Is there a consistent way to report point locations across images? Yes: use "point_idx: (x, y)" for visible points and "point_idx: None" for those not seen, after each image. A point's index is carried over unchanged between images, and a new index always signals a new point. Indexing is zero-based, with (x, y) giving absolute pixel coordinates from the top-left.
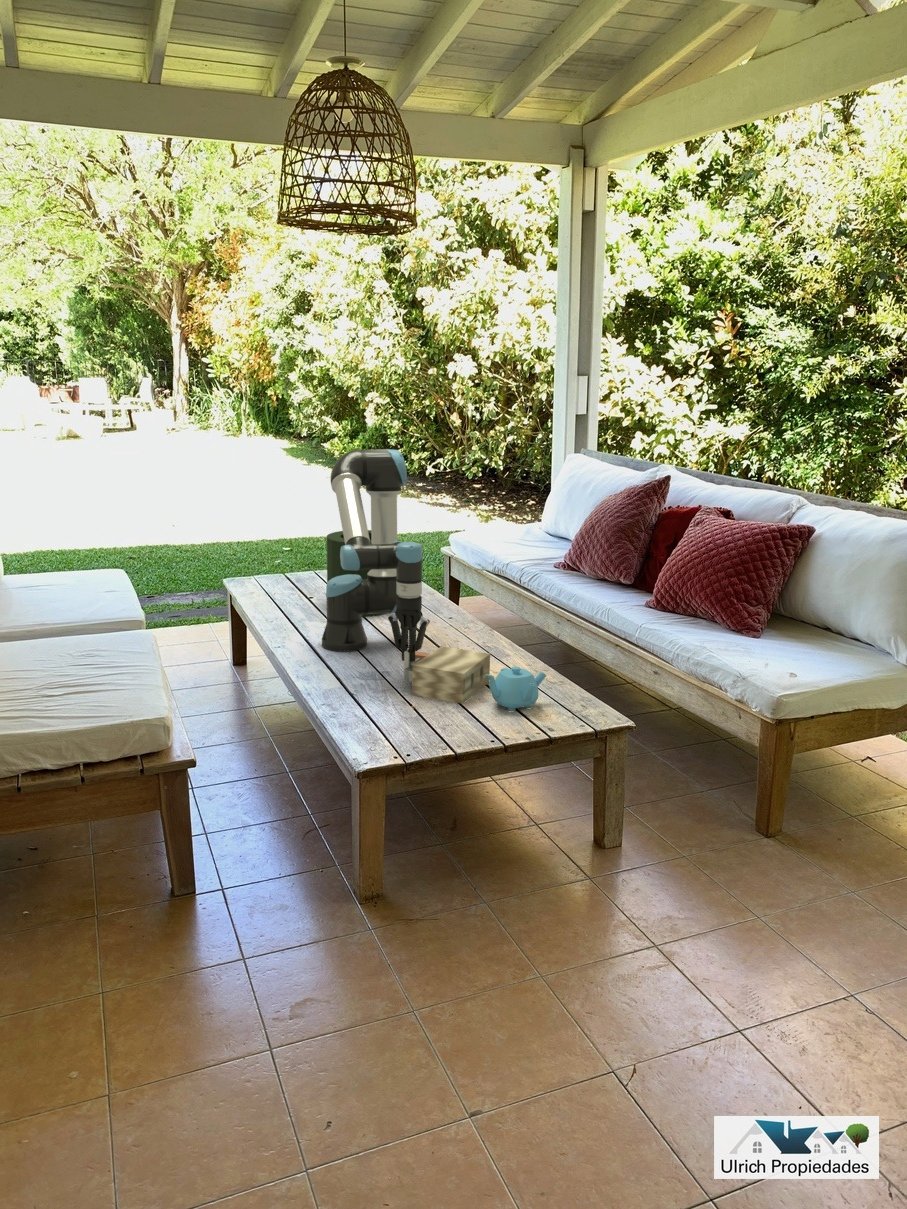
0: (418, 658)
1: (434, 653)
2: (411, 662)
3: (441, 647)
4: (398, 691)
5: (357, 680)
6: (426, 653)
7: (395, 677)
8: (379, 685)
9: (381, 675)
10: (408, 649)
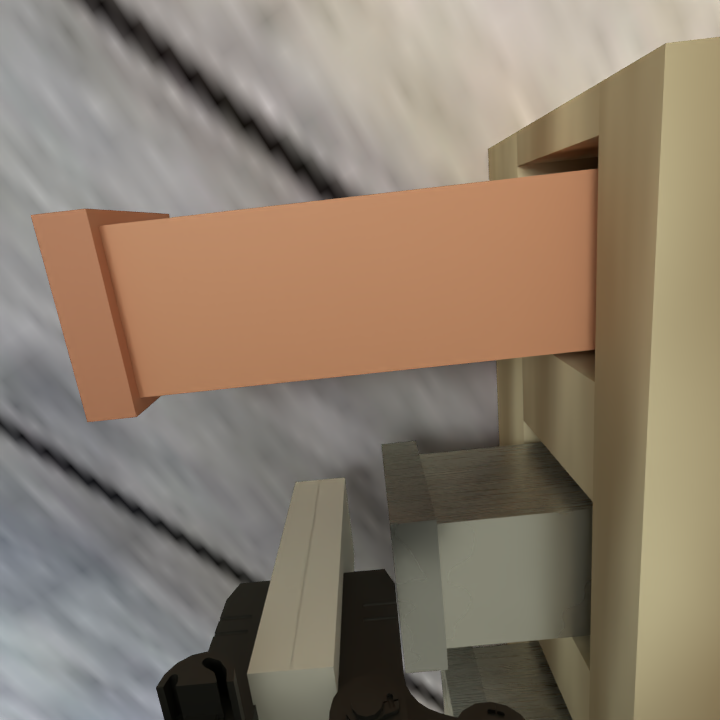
0: (413, 535)
1: (706, 529)
2: (345, 563)
3: (697, 126)
4: None
5: (8, 642)
6: (368, 239)
7: (188, 450)
8: (205, 642)
9: (64, 471)
10: (254, 678)
